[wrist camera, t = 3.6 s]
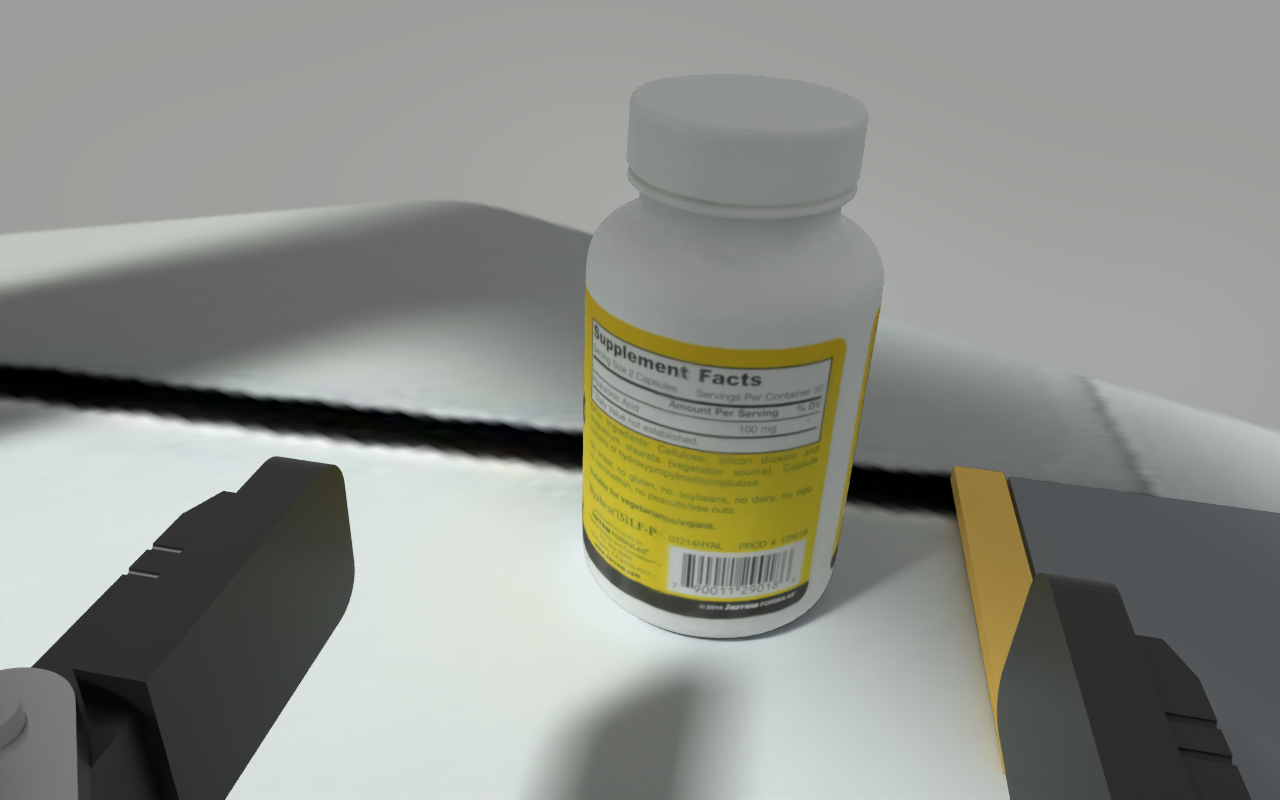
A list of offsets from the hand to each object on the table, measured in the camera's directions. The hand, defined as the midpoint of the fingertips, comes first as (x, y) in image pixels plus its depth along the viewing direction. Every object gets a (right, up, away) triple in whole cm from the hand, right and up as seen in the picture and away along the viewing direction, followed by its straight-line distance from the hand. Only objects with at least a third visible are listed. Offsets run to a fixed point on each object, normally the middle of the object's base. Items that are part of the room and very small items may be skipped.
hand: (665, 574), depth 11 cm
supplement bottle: (+1, -2, +10) cm, 10 cm away
